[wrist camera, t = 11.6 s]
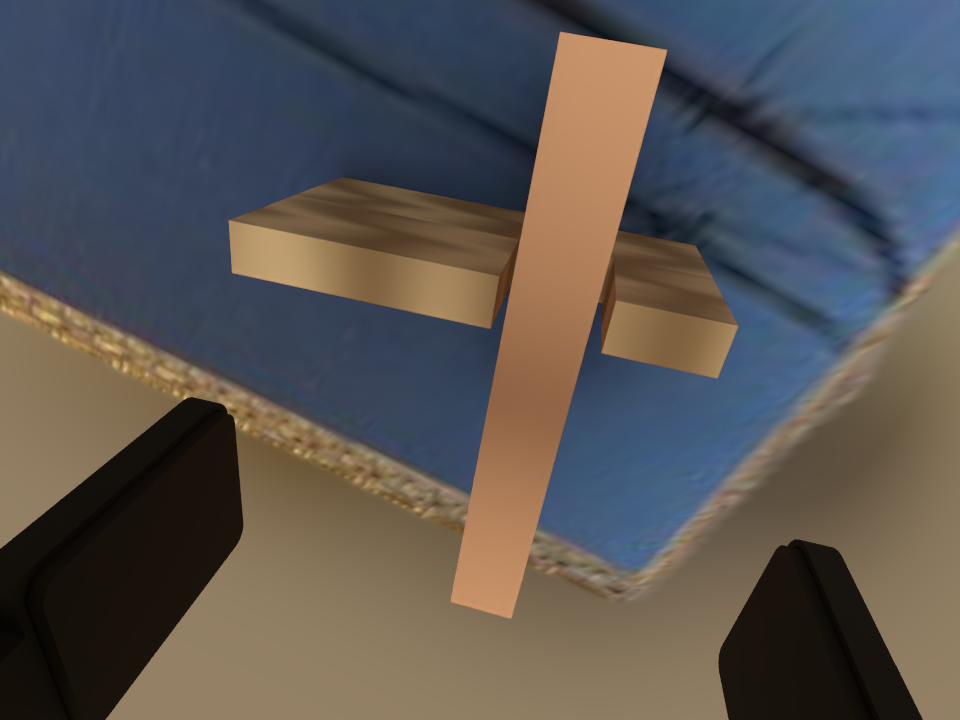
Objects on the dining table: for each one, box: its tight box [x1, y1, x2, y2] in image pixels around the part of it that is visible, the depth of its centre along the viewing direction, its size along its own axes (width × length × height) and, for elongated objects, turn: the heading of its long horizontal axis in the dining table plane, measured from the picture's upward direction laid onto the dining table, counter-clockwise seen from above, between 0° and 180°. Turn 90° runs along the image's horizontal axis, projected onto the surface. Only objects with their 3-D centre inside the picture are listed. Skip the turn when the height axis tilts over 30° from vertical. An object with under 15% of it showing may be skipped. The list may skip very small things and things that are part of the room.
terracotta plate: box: [451, 32, 667, 619], centre depth 21 cm, size 2×16×16 cm, turn 171°
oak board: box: [229, 177, 738, 378], centre depth 24 cm, size 18×2×10 cm, turn 82°
